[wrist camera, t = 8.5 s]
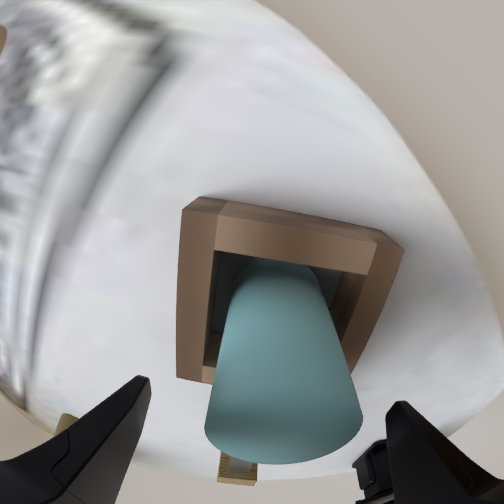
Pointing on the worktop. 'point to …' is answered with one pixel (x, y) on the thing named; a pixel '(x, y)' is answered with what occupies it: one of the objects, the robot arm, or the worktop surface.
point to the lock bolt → (236, 471)
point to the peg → (280, 371)
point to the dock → (282, 249)
